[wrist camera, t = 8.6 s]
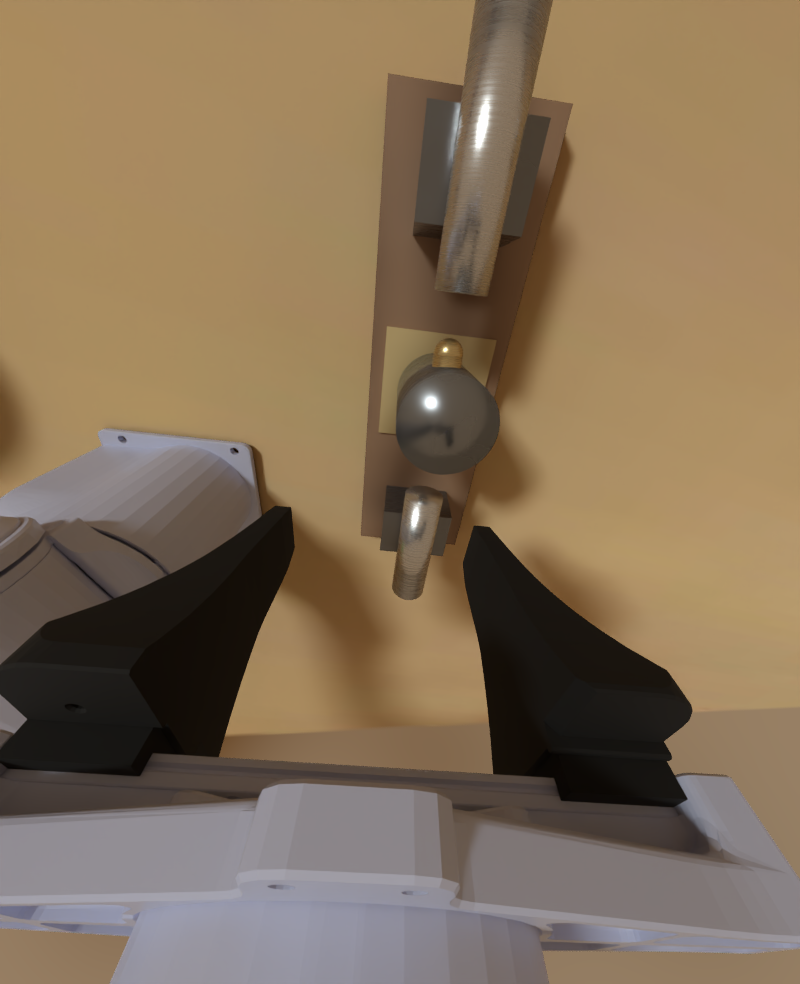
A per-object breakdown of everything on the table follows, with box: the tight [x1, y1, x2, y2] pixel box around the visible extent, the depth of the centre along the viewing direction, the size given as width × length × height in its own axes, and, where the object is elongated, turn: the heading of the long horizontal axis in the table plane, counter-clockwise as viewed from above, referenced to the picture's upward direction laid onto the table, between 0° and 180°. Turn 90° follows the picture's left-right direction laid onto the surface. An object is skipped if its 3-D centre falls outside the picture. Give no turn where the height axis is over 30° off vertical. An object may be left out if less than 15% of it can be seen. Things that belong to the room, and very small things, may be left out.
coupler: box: [396, 338, 500, 475], centre depth 15 cm, size 4×6×6 cm, turn 177°
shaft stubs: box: [380, 0, 553, 600], centre depth 15 cm, size 4×23×5 cm, turn 174°
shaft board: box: [361, 74, 573, 544], centre depth 18 cm, size 7×22×1 cm, turn 174°
